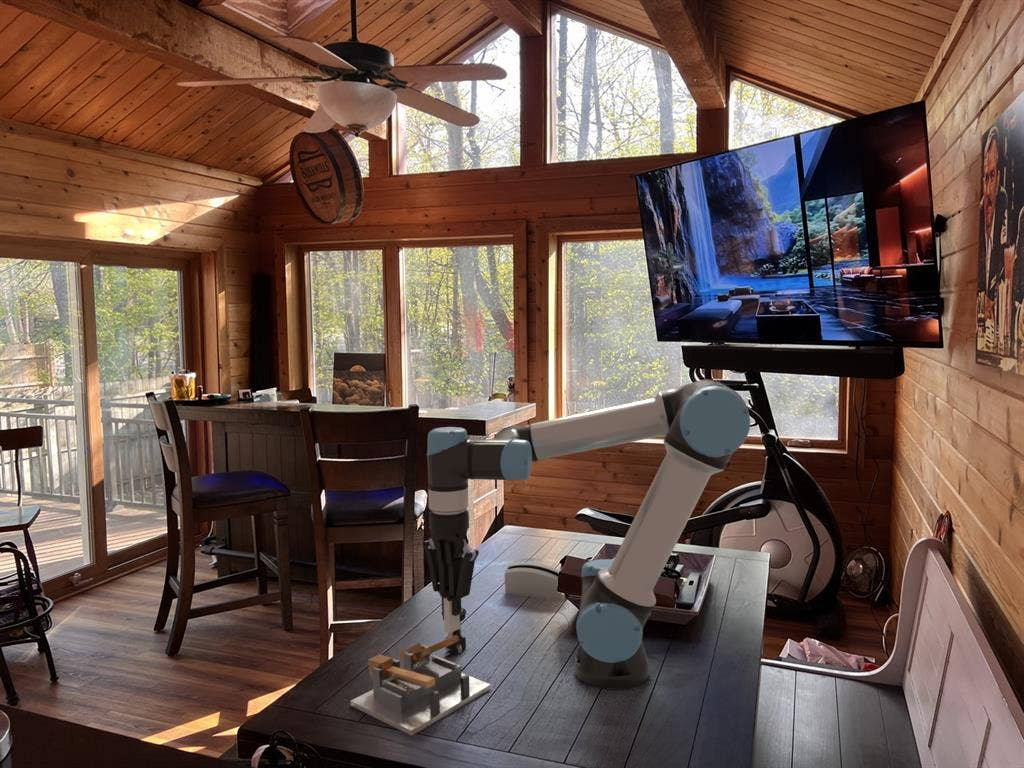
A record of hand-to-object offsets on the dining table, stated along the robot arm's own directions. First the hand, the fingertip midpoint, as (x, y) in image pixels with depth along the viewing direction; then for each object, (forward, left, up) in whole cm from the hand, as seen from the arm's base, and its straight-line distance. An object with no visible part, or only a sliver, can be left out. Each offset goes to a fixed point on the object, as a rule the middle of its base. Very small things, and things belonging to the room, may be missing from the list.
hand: (452, 629), depth 147 cm
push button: (+14, -14, -14) cm, 24 cm away
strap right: (+6, 0, -7) cm, 9 cm away
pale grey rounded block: (+20, -51, -14) cm, 57 cm away
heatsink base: (+5, +4, -14) cm, 15 cm away
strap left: (+6, +8, -9) cm, 13 cm away
